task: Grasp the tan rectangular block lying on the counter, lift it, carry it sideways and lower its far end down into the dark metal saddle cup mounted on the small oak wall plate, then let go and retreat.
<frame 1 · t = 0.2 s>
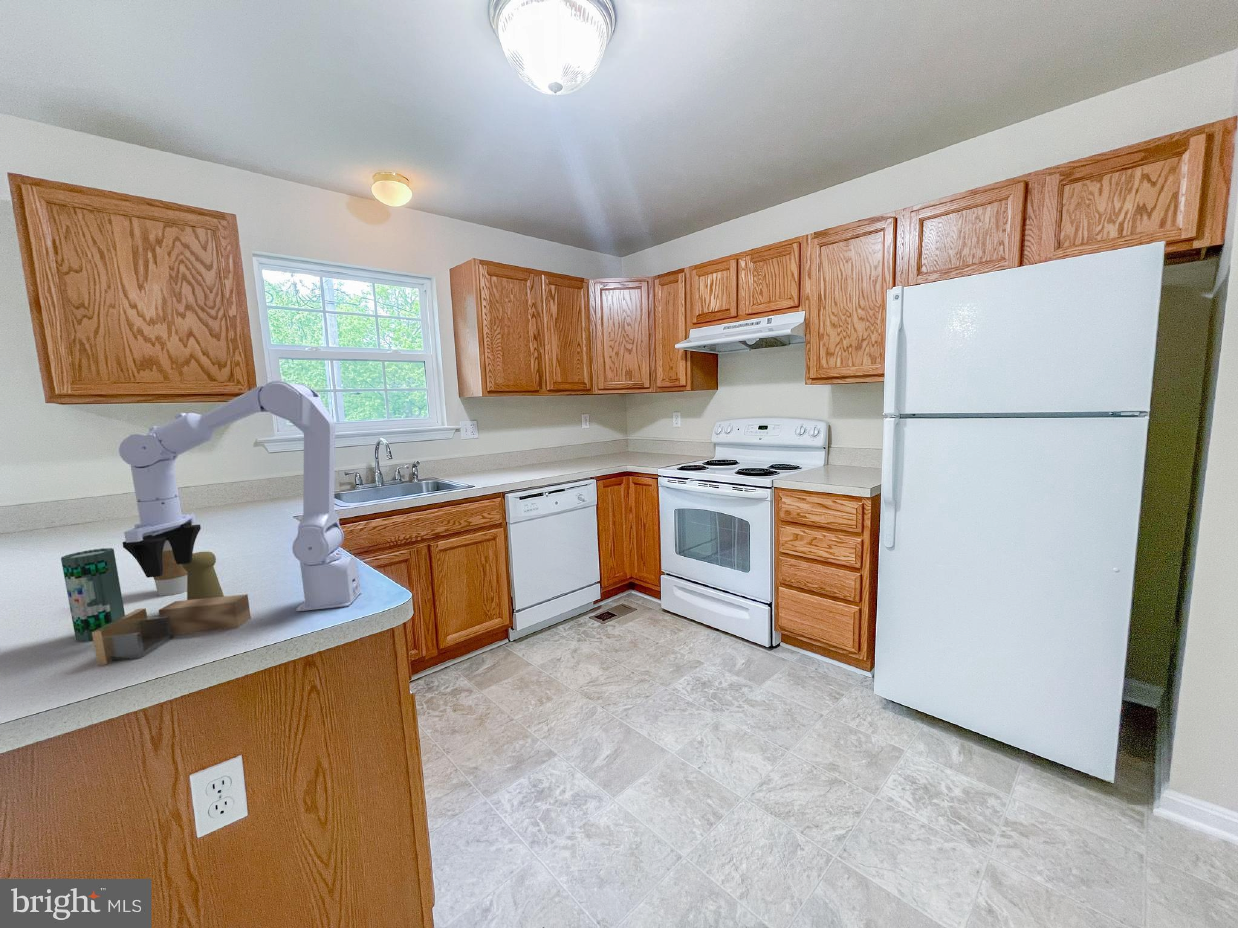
hand: (169, 569, 92), 10 cm above the countertop, fingers open, 7 cm apart
tan rectangular block: (208, 628, 89), on the countertop
bracket: (136, 649, 81), on the countertop
coffee cup: (176, 591, 109), on the countertop
can: (102, 634, 88), on the countertop
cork: (206, 605, 100), on the countertop
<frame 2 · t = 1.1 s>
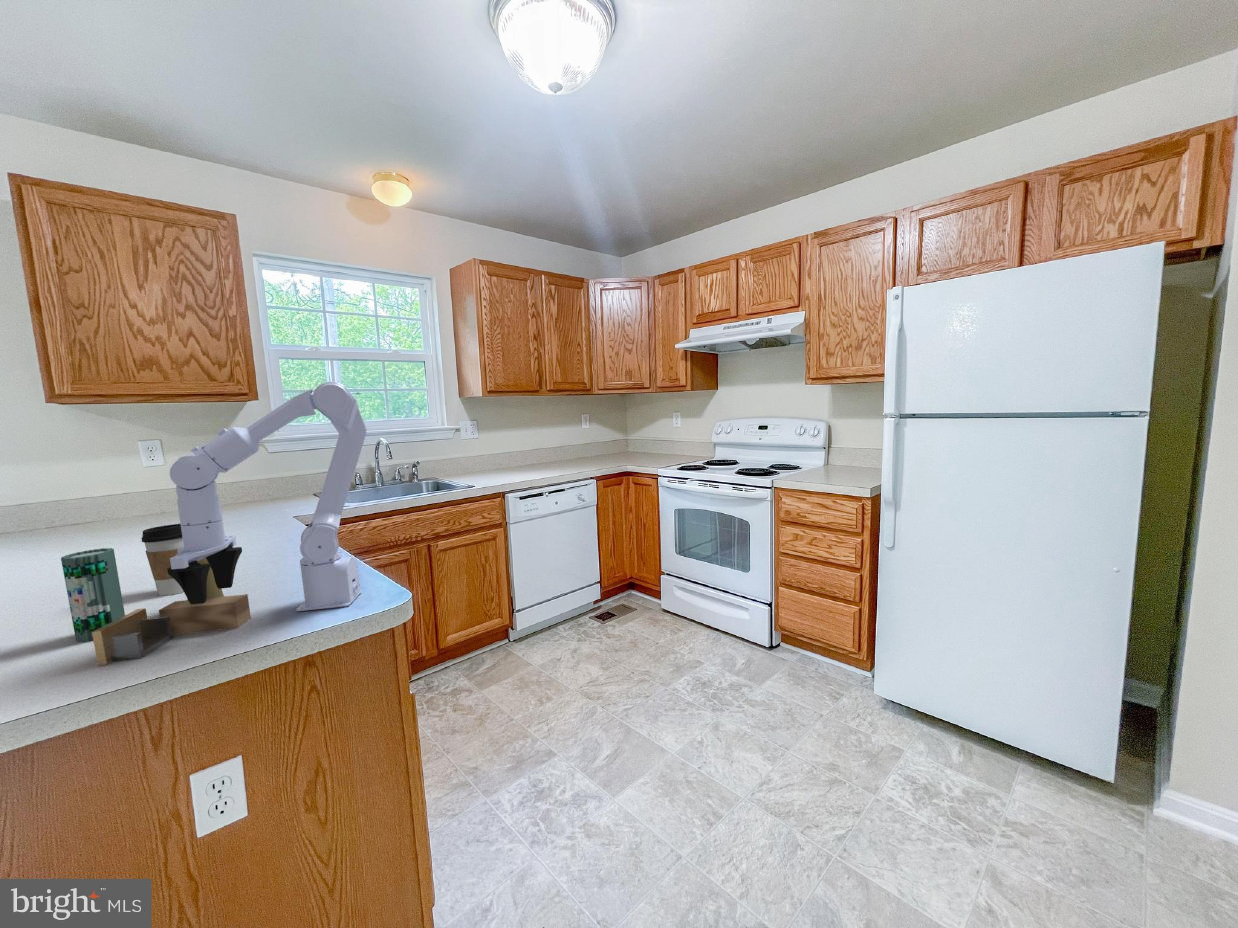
hand: (212, 595, 88), 6 cm above the countertop, fingers open, 7 cm apart
nothing on the countertop moved.
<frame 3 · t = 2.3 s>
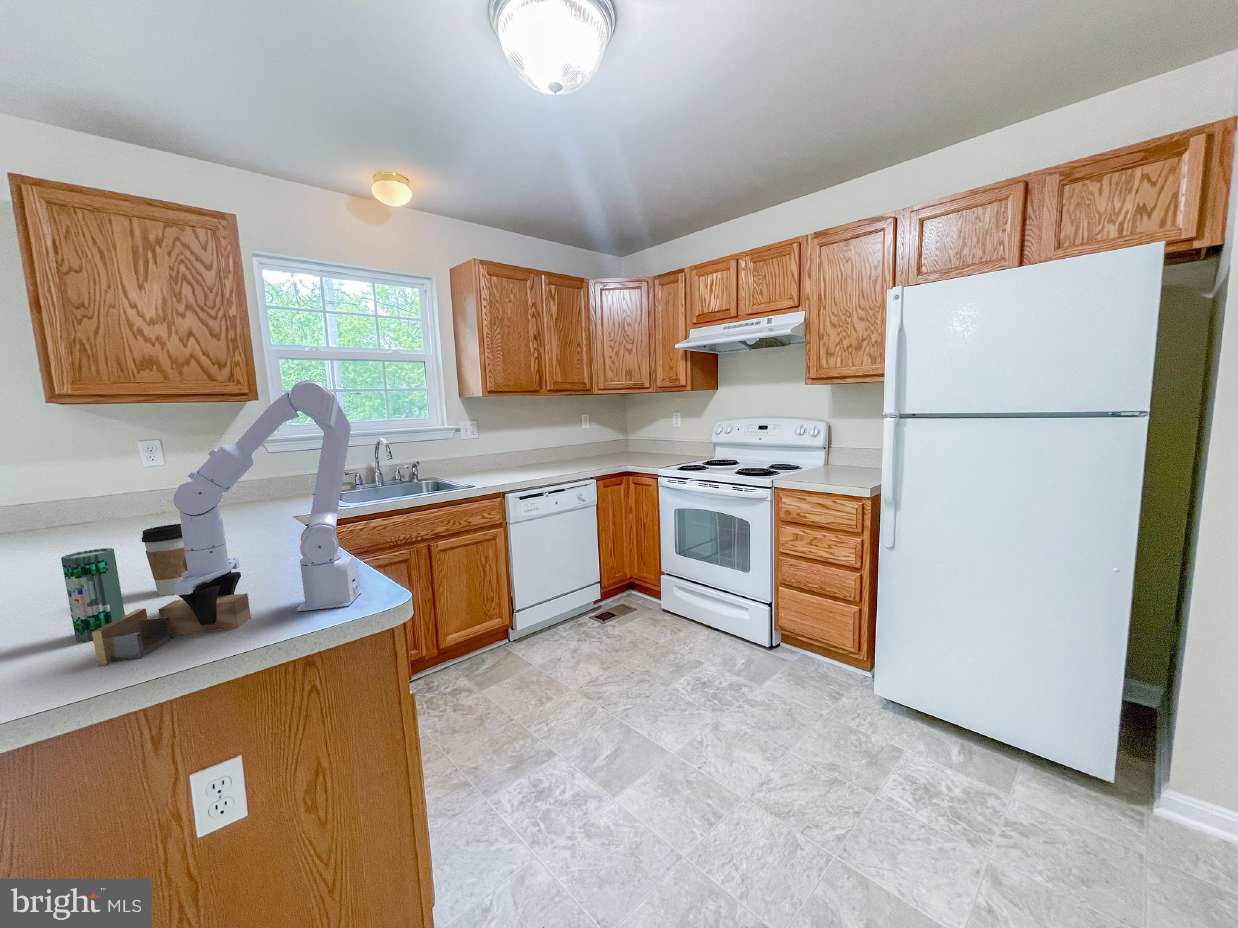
hand: (216, 618, 89), 1 cm above the countertop, fingers closed on tan rectangular block, 4 cm apart
tan rectangular block: (208, 627, 89), on the countertop, touching gripper
everything else where it was.
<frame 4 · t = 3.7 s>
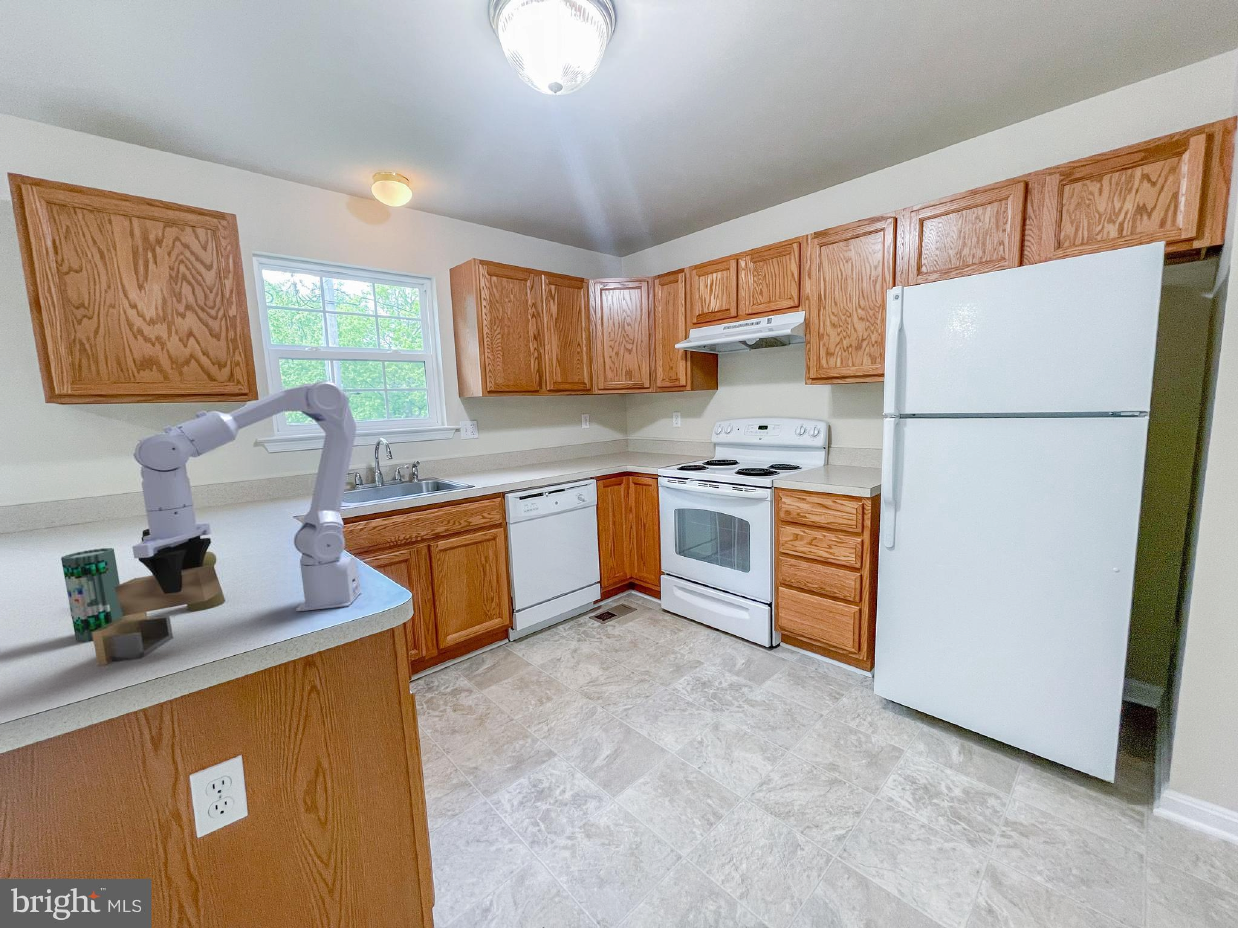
hand: (182, 587, 81), 10 cm above the countertop, fingers closed on tan rectangular block, 4 cm apart
tan rectangular block: (173, 603, 81), point 7 cm above the countertop, tilted 6°, touching gripper
everything else where it was.
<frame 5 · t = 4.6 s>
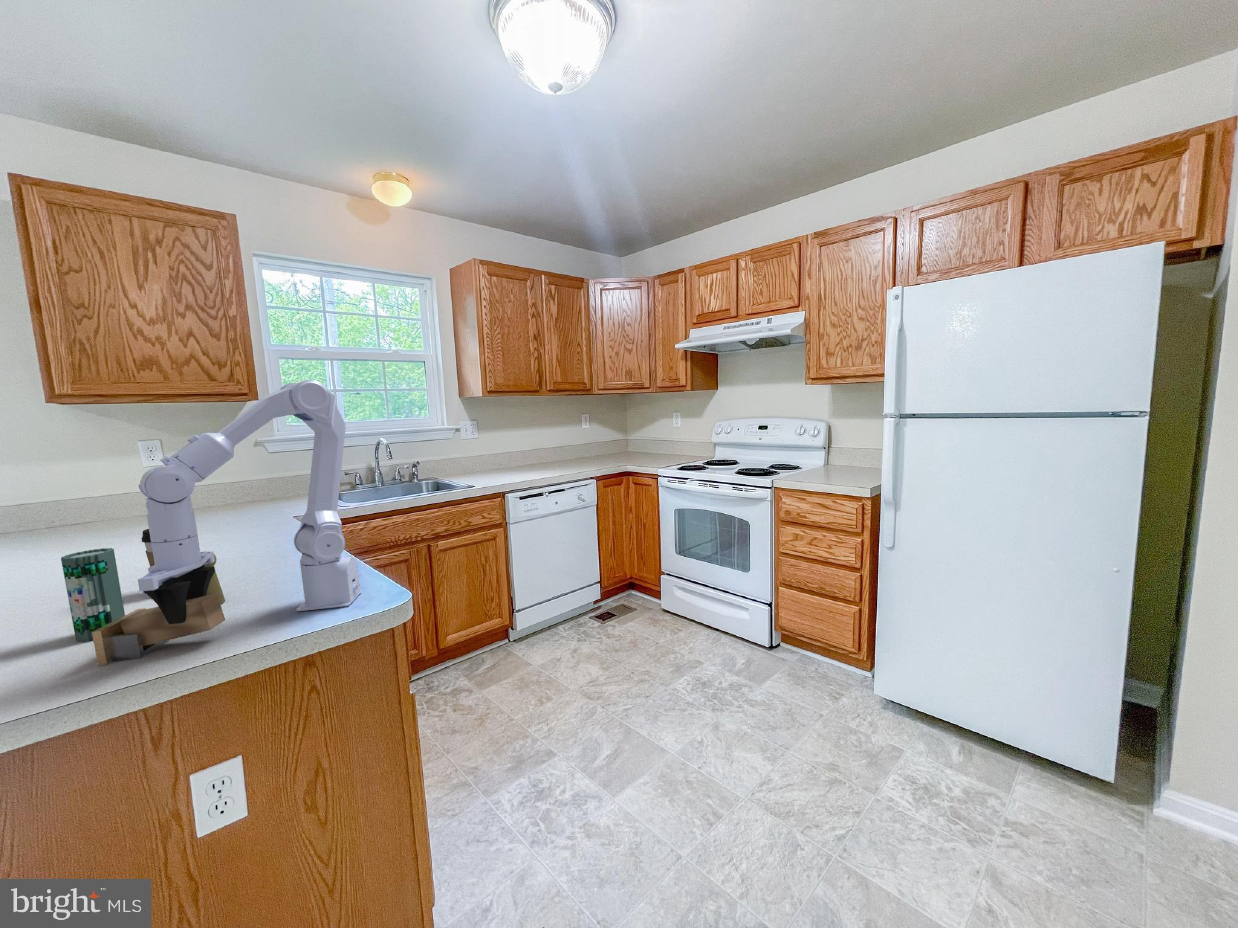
hand: (186, 617, 82), 5 cm above the countertop, fingers closed on tan rectangular block, 4 cm apart
tan rectangular block: (179, 634, 82), point 2 cm above the countertop, tilted 8°, touching gripper
everything else where it was.
when the fingers open (3 cm above the countertop, at t = 5.3 s): tan rectangular block stays where it is, resting on bracket.
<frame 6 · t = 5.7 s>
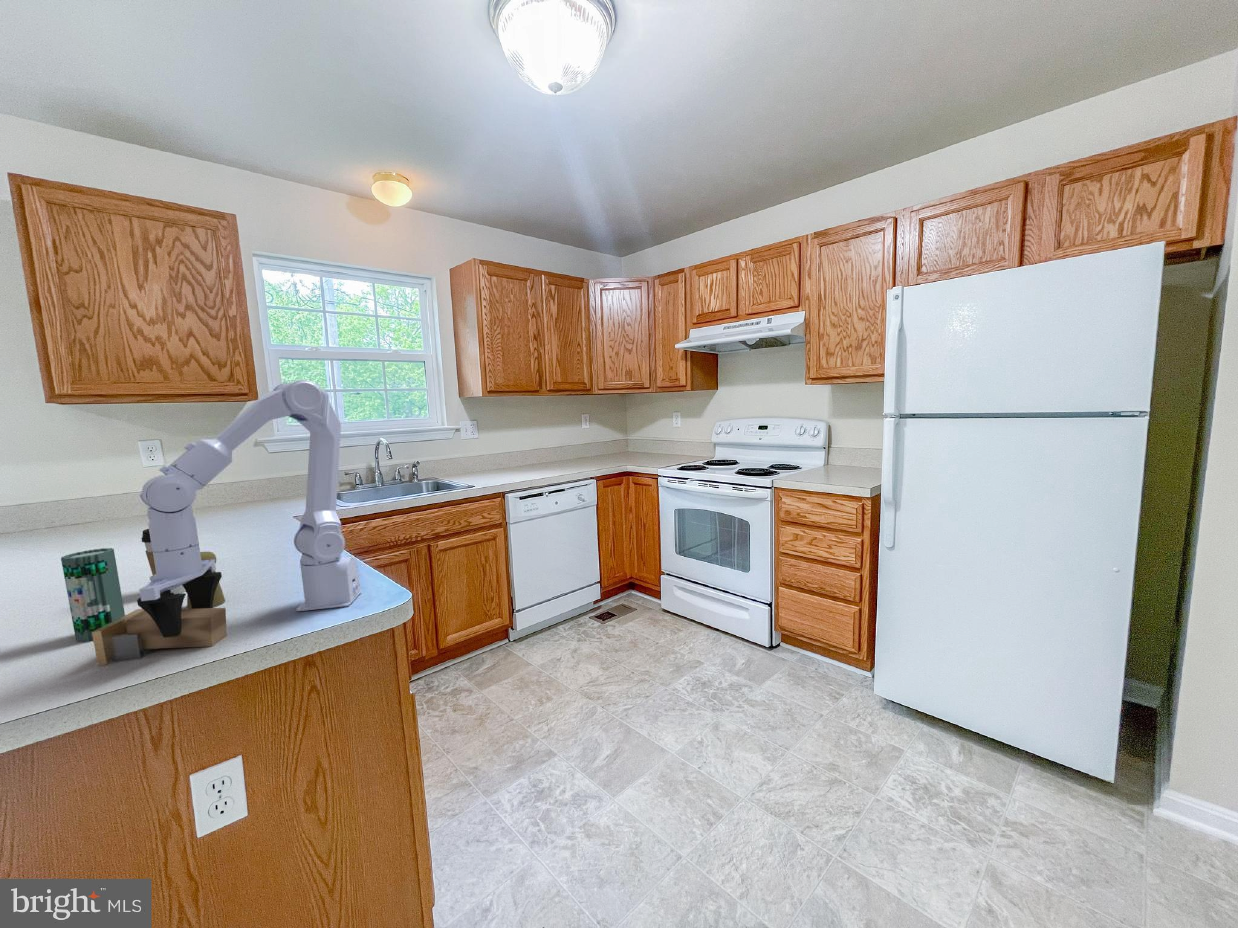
hand: (188, 625, 82), 3 cm above the countertop, fingers open, 7 cm apart
tan rectangular block: (179, 642, 82), point 1 cm above the countertop, touching bracket
everything else where it was.
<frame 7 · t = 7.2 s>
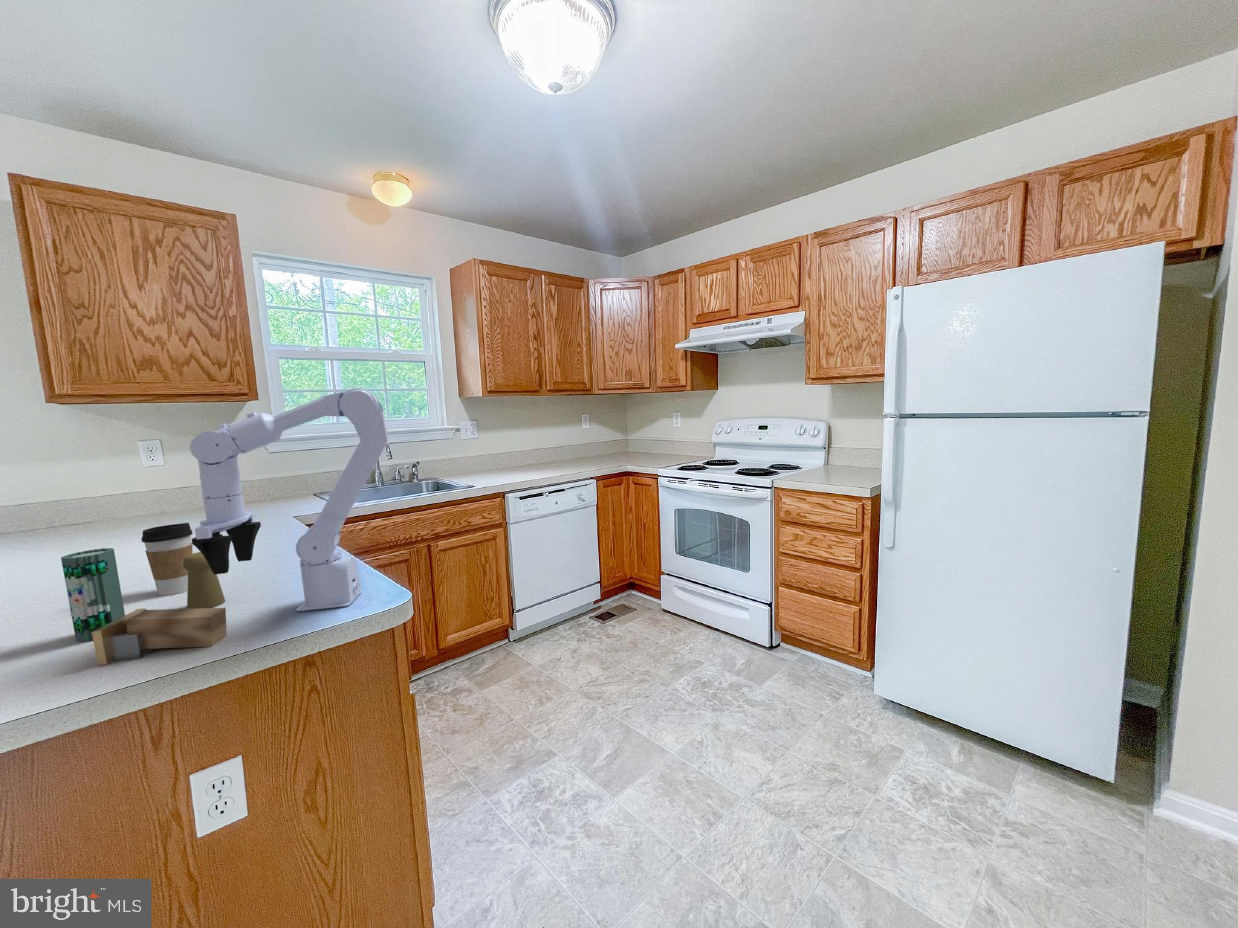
hand: (233, 566, 92), 10 cm above the countertop, fingers open, 7 cm apart
nothing on the countertop moved.
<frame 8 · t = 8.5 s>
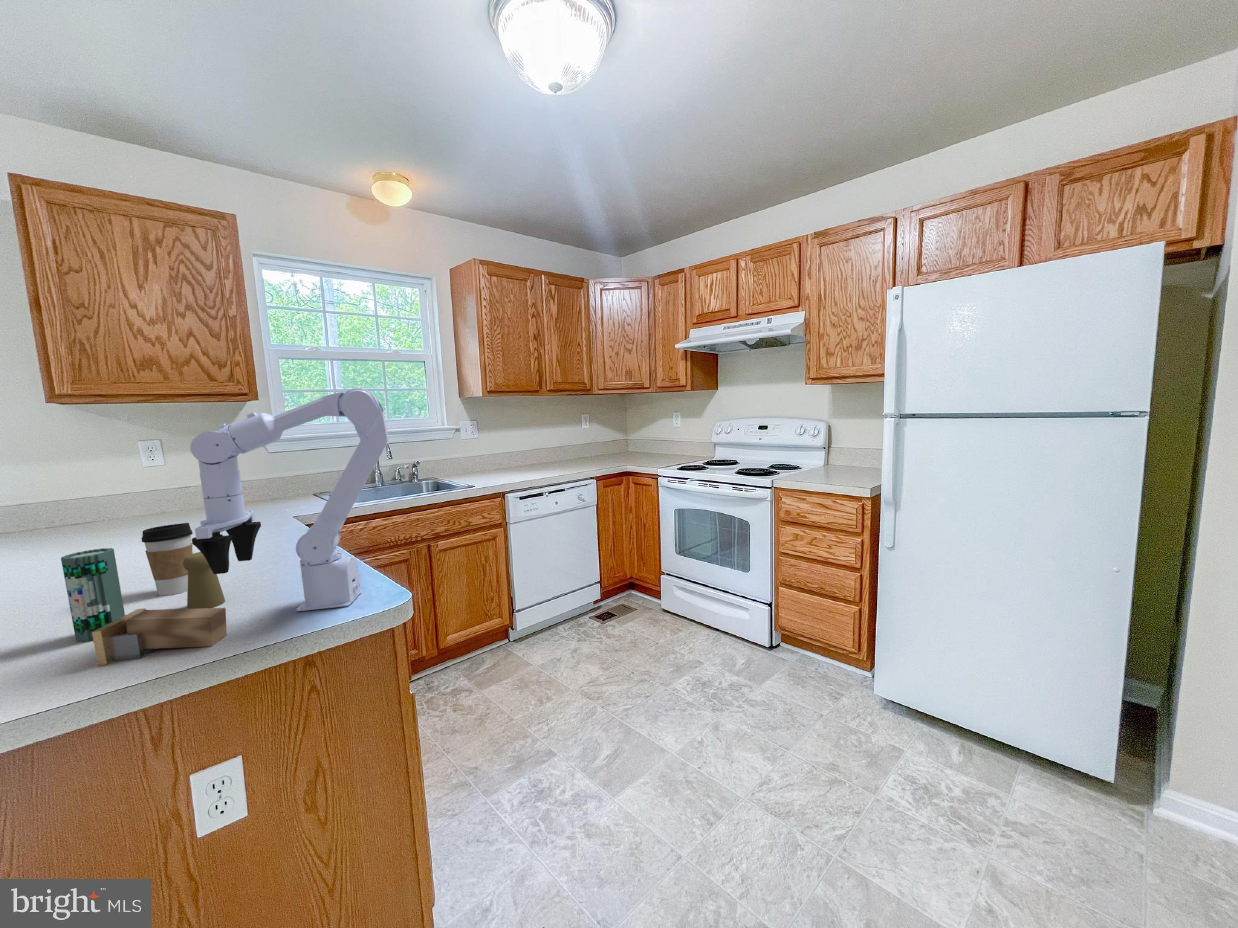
hand: (233, 566, 92), 10 cm above the countertop, fingers open, 7 cm apart
nothing on the countertop moved.
at the end: tan rectangular block 0.2 cm from the target spot on the countertop beside the bracket, point 0.5 cm above the countertop; tan rectangular block tilted 5°; tan rectangular block touching bracket, countertop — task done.
